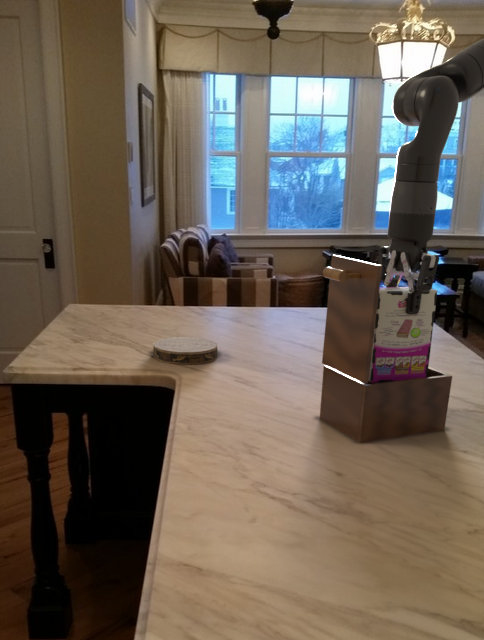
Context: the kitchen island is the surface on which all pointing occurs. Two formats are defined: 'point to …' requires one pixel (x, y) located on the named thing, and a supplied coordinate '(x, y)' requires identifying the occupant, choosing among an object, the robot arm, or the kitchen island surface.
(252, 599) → the kitchen island surface
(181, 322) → the kitchen island surface
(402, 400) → the chest
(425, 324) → the candy bar box
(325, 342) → the lid
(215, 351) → the grey round disc
